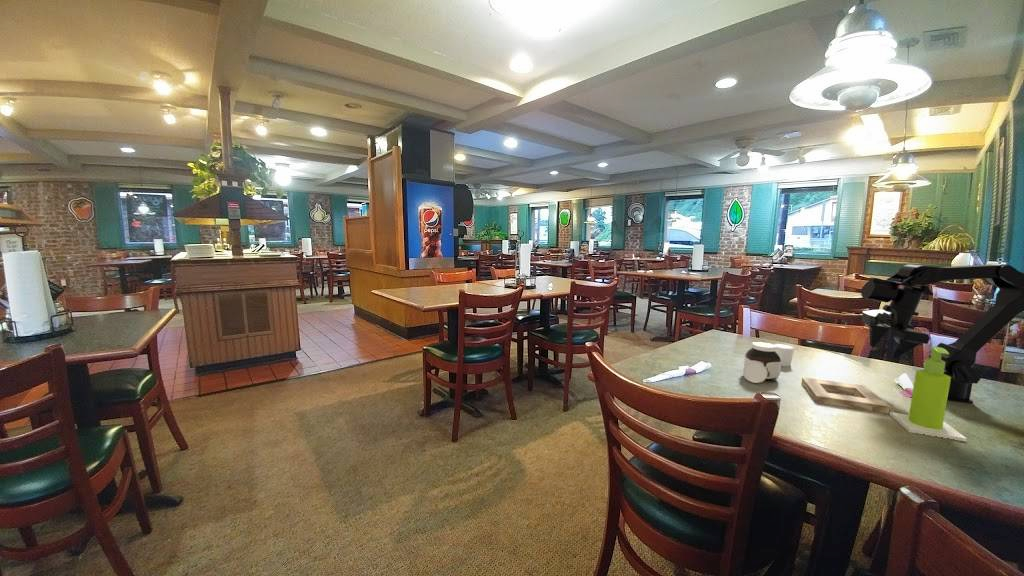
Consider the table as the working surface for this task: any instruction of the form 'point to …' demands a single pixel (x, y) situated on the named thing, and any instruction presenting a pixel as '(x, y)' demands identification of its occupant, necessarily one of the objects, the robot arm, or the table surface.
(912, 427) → the pad
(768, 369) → the spread jar
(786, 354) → the white cup
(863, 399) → the plate
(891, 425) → the table surface
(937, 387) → the soap dispenser
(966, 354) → the robot arm
